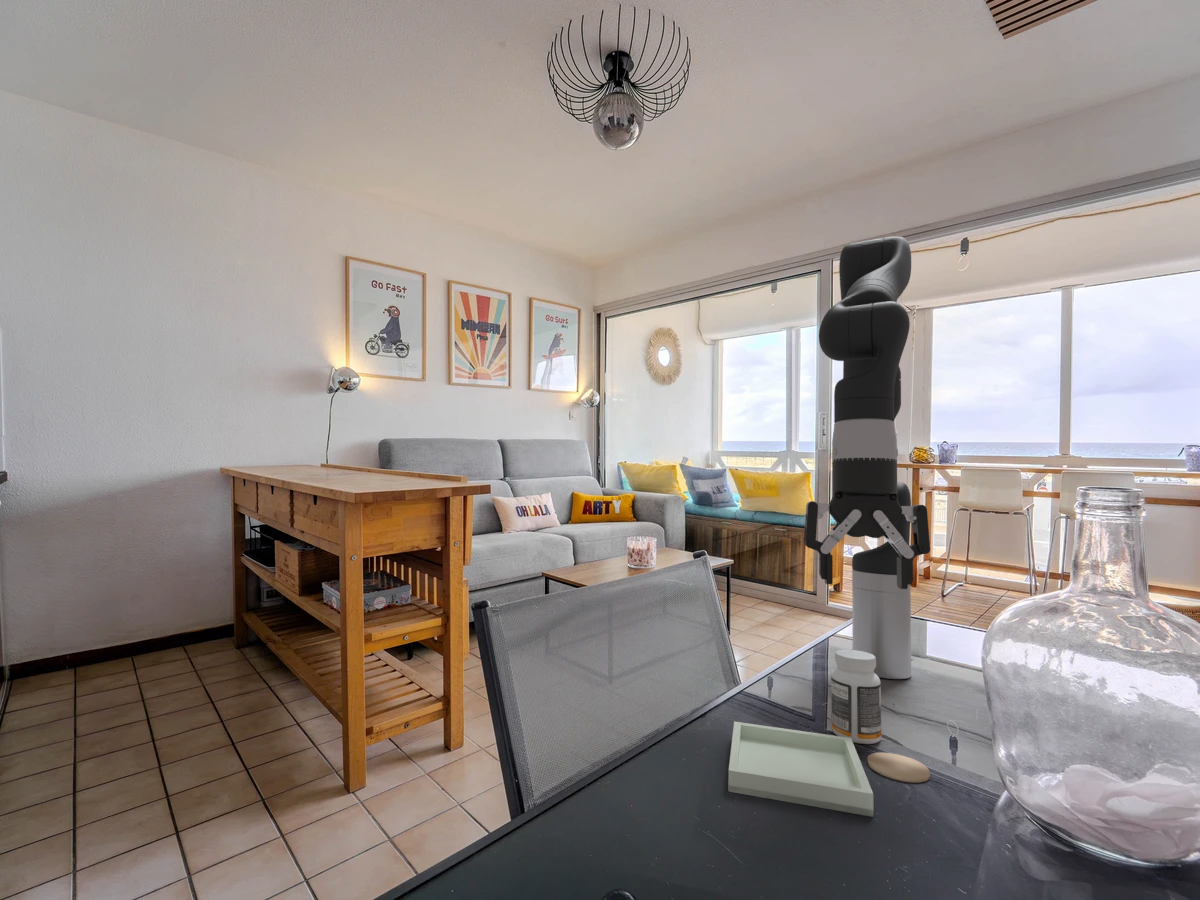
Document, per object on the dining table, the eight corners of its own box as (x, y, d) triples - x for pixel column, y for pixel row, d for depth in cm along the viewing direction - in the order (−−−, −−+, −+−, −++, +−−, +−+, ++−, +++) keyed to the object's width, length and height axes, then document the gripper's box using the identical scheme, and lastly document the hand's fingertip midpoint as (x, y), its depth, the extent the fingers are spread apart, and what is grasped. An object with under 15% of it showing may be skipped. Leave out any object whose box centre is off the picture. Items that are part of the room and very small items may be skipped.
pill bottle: (877, 731, 71) (877, 651, 72) (885, 749, 66) (884, 662, 67) (829, 724, 73) (829, 646, 74) (832, 741, 68) (832, 656, 68)
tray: (733, 738, 67) (734, 721, 67) (851, 756, 64) (851, 737, 64) (728, 791, 55) (728, 770, 55) (873, 816, 51) (873, 794, 51)
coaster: (863, 752, 65) (863, 749, 65) (921, 761, 63) (921, 757, 63) (873, 776, 59) (873, 772, 59) (937, 786, 57) (937, 782, 57)
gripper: (917, 460, 73) (918, 586, 72) (802, 458, 77) (801, 578, 76) (935, 456, 66) (937, 595, 65) (807, 454, 70) (807, 586, 68)
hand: (864, 586), depth 70 cm, fingers open, 8 cm apart
